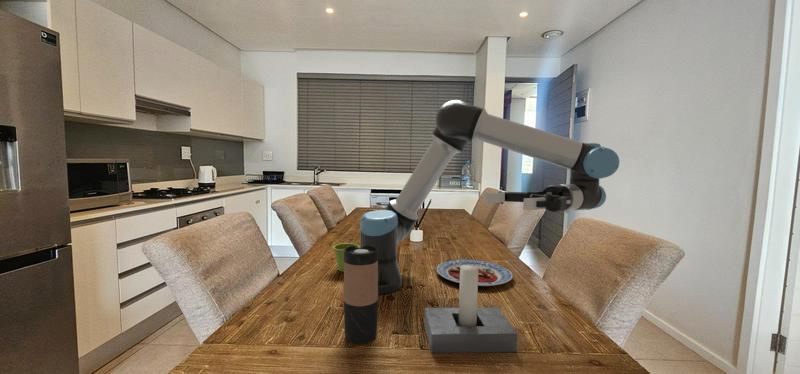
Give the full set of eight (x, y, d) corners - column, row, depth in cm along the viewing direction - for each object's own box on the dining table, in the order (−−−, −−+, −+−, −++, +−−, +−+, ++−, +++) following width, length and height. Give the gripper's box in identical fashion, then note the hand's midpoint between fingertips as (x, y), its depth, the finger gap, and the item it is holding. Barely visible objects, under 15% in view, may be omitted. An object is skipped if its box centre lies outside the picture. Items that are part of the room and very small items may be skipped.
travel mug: (363, 349, 67) (363, 256, 65) (336, 338, 71) (336, 250, 69) (384, 332, 73) (385, 248, 72) (358, 323, 77) (358, 243, 76)
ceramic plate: (456, 295, 95) (456, 285, 95) (426, 267, 120) (426, 260, 119) (529, 287, 102) (529, 278, 102) (486, 262, 127) (486, 255, 126)
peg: (455, 338, 71) (457, 268, 70) (461, 330, 75) (463, 264, 74) (473, 343, 69) (475, 272, 68) (478, 334, 73) (480, 267, 72)
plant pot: (349, 263, 122) (349, 241, 122) (364, 269, 116) (364, 246, 115) (328, 269, 116) (328, 246, 115) (343, 276, 109) (343, 251, 108)
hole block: (431, 352, 66) (431, 334, 65) (424, 323, 78) (424, 307, 77) (516, 351, 66) (517, 333, 66) (496, 322, 78) (497, 307, 78)
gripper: (604, 218, 78) (544, 224, 69) (525, 205, 101) (472, 208, 92) (606, 188, 78) (546, 190, 69) (526, 182, 100) (472, 183, 91)
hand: (503, 201), depth 80 cm, fingers open, 13 cm apart
